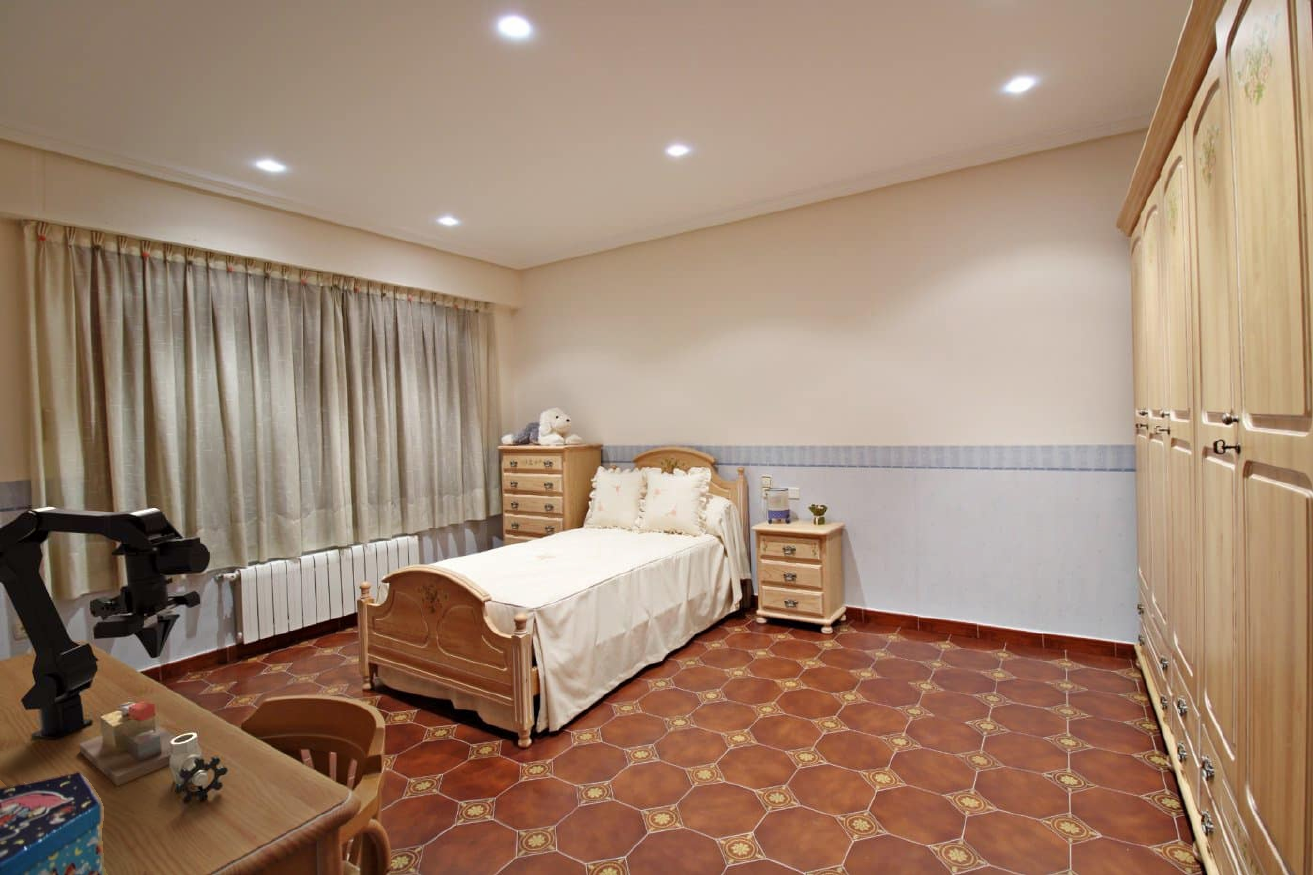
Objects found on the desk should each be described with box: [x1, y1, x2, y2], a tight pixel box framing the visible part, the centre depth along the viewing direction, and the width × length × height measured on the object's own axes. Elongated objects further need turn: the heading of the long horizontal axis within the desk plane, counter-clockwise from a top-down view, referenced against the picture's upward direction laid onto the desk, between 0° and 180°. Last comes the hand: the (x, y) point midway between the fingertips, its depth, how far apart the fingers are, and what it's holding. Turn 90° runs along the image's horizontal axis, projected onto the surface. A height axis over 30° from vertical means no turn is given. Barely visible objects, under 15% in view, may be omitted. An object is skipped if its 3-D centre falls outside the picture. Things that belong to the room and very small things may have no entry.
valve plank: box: [78, 722, 177, 787], centre depth 109 cm, size 20×10×2 cm, turn 56°
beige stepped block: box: [99, 709, 162, 761], centre depth 109 cm, size 16×6×6 cm, turn 56°
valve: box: [168, 732, 228, 805], centre depth 98 cm, size 7×7×12 cm
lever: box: [118, 700, 156, 722], centre depth 108 cm, size 8×2×2 cm, turn 64°
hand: (155, 657), depth 119 cm, fingers closed
